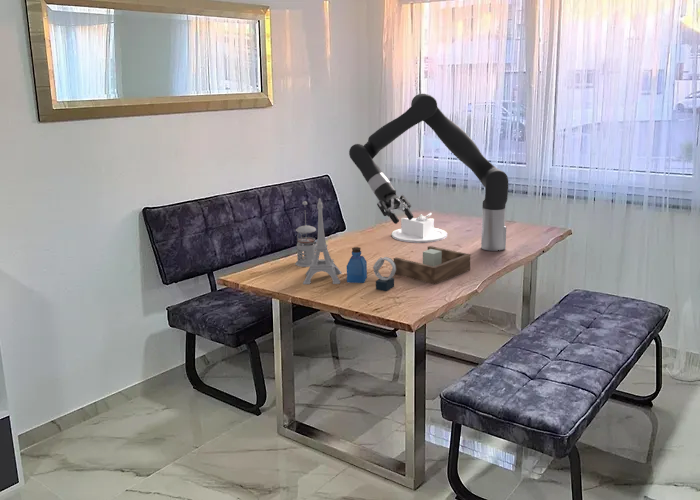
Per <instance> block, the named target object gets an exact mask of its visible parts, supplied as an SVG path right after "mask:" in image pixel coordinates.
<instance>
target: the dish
mask: <svg viewBox="0 0 700 500" xmlns="http://www.w3.org/2000/svg"><path fill="white" fill-rule="evenodd" d="M431 216H432V212H428V214H426V215H423V214H422V213H421V214H420V215H419V216H418V215H417V216H416V217H413V218H412V219H411V220H409V219H408V218H407V217H401V221H400V222H401V224H400V225H401V227H400V228H398V229H395V230H393V231H392V233H391V237H392V238H393V239H395V240H397V241H401V242H405V243H413V244H414V243H416V244H417V243H418V244H419V243H422V244H423V243H436V242H439V241H442V240H444V239H446V238H447V237H448V232H447V231H446V230H444V229H441V228H438V227H437V228H436V227H435V218H431ZM428 217H430V218H428Z"/></svg>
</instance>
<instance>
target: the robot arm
mask: <svg viewBox="0 0 700 500" xmlns="http://www.w3.org/2000/svg"><path fill="white" fill-rule="evenodd" d="M421 122H424V123H425V124H426V125H428V126H429V128H431V130H432V131H433V132H434V133H435V135H436V136H437V137H438V138H439V140H440V142H441V143H442V144H444V146H445V147H446V148H447V149H448V150H449V151H450V152H451V153H452V155H454V157H456V158H457V159H458V160H459V161H460V162H461V163H462V164H464V165H465V166H466V167H467V168H468V169H469V170H471V171H472V173H473V174H474V175H475V176H476V177H477V180H479V182H480V183H481V184H482V186H483V187H484V188H485V190H484V191H485V192H484V193H485V194H484V198H483V199H484V200H482V207H481V208H482V209H481V211H482V213H481V214H482V215H481V243H480V247H481V249H482V250H484V251H490V252H491V251H492V252H496V251H497V252H498V250H499V251H503V250H506V247H507V226H506V223H505V222H506V204H507V201H508V197H509V196H508V195H509V193H508V192H509V177H508V175H507V173H506V172H505V171H503V170H501V169H499V168H497V167H496V166H495V165H493V164H492V163H491V162H490V160H488V159H487V158H486V157H485V156H484V155H483V154H482V152H481V151H480V149H479V147H478V145H477V144H476V143H475V141H474V140H473V139H472V138H471V137H470V136H469V134H468V133H467V132H466V131H464V129H463V128H461V127H460V126H459V125H458V124H457V123H455V122H454V121H453V120H452V119H449V118H448V116H446V115H445V114H444V113H443V111H441V109H440V108H439V106H438V102H437V100H436V99H435V97H434V96H432V95H431V94H427V93H419V94H417V95H414V97H413V98H412V100H411V102H410V107H409V108H408V109H407V110H406V111H405V112H403V113H402V114H401V115H399V116H398V117H396V118H395V119H393V120H391V121H389V122H388V123H385V124H384V125H382V126H381V127H380V128H378V129H377V130H376V131H375V132H373V133H372V134H371V135H370V136H369V137H368V139H367V140H368V141H367V142H365V144H364V145H363V144H361V143H355V144H353V145H352V146H351V147H350V148H349V150H348V154H349V155H348V156H349V158H350V160H352V162H353V164H354V165H355V166H356V167H357V168H358V170H359V171H360V173H361V174H362V176H363V178H364V180H365V181H366V182H367V184H368V185H369V188H370V190H371V191H372V192H373V193H374V195H375V197H376V198H377V200H378V202H377V204H376V205H377V207H378V209H379V210H380V212H381V214H382V215H383V216H384V217H389V218H390V220H391V221H392V223H394V225H396V224H398V223H399V221H400V219H399V218H398V216H397V215H396V213H394V210H398V211H402V212H403V213H404V215H405V216H406V218H408V219H409V220H411V219H412V218H414V214H413V213H412V211H411V210H410V208H411V207H412V204H411V203H410V202H409V201H408V199H407V198H406V197H405V195H403V194H401V195H400V196H398V195H397V190H396V188H394V185H392V183H391V182H390V180H389V178H388V177H387V176H386V175H385V173H383V171H382V169H381V168H380V166H378V164H377V163H376V162H375V161H374V158H375V157H376V156H377V155H378V153H380V152H381V151H382V150H383V149H384V148H385V147H387V146H388V145H389V144H391V143H392V142H393V141H395V140H397V138H399V137H401V135H403V134H404V133H406V132H407V131H408V130H410V129H411V128H412V127H414V126H416V125H418V124H419V123H421Z"/></svg>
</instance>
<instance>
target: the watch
mask: <svg viewBox="0 0 700 500" xmlns="http://www.w3.org/2000/svg"><path fill="white" fill-rule="evenodd" d="M385 261H387V262H388V263H389V264H390V265H391V271H390V274H389V276H383V275H381V273H380V272H379V270H380V269H381V268H382V267H383V266H384V263H385ZM372 269H373V272H374V275H375V277H376V278H378V279H377V280H375V290H377V291H383V292H388V291H390V290H391V289H393V288H395V278H394V276H395V275H396V274H395V272H396V266H395V263H394V259H392V258H391V257H387V256H384V257H383V256H382V257H380V258H378V259H377V260H376V261H375V263H374V264H373V266H372Z"/></svg>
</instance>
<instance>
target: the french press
mask: <svg viewBox="0 0 700 500" xmlns="http://www.w3.org/2000/svg"><path fill="white" fill-rule="evenodd" d="M301 205H303V206H306V205H308V201H306V200H305V201H302V204H301ZM306 216H307V215H306V211H304V221H305V222H304V224H305V225H301V226H298V227H297V228H296V229H295V231H296V232H297V235H299V234H300V238H299V237H298V238H297V241H296V242H297V243H296V257H297V258H296V259H297V261H296V262H295V264H294V265H295V266H298V267H301V268H306V267H307V268H310V266H311V263H312V260H314V258H315V254H316V245H317V241H316V238H315V237H310V236H309V237H308V236H307V235H308V234H311V233H312V234H313V233H314V232H316V231H317V228H316V227H314V226H312V225H307V217H306ZM304 234H305V237H304V236H303V235H304Z"/></svg>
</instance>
